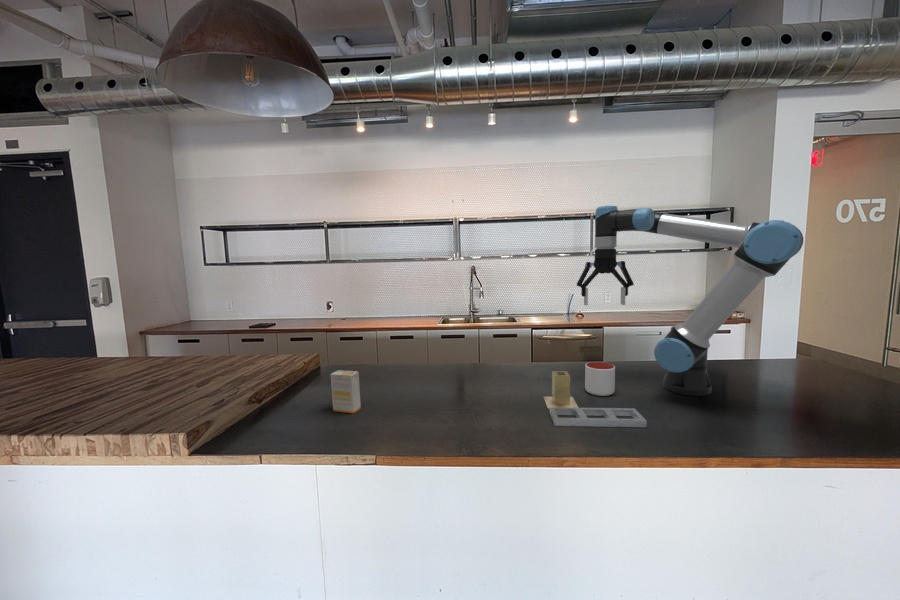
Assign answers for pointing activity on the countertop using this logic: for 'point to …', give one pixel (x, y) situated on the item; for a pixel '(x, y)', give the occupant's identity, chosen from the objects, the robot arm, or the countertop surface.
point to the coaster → (550, 403)
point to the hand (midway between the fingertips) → (604, 304)
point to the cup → (600, 378)
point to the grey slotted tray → (608, 421)
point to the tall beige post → (561, 387)
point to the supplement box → (345, 391)
